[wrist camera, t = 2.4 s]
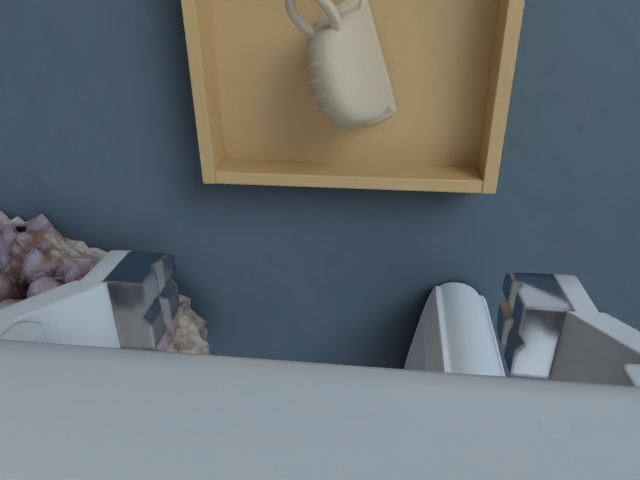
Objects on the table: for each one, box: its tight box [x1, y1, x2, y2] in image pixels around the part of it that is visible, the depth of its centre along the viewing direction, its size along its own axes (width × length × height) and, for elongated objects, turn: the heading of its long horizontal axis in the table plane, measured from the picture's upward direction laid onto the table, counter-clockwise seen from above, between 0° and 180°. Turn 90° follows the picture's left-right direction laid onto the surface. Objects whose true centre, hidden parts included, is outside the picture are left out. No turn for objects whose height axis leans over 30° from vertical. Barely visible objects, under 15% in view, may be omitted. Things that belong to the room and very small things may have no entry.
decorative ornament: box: [285, 0, 396, 128], centre depth 28 cm, size 4×8×5 cm, turn 16°
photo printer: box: [404, 282, 505, 377], centre depth 34 cm, size 10×4×12 cm, turn 169°
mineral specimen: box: [0, 211, 210, 355], centre depth 37 cm, size 20×10×10 cm
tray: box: [181, 0, 525, 194], centre depth 30 cm, size 18×15×3 cm
